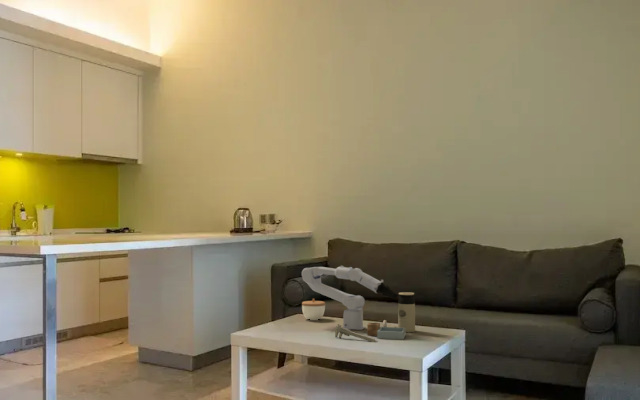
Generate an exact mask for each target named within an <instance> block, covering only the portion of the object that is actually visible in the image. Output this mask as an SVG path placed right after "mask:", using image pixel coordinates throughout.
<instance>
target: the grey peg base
mask: <svg viewBox="0 0 640 400" xmlns="http://www.w3.org/2000/svg"><path fill="white" fill-rule="evenodd" d="M382 322H383V326H382V327H388V325H387V324H388V323H387V320H385V319H384V320H383V321H382Z"/></svg>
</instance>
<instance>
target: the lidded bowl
mask: <svg viewBox="0 0 640 400" xmlns="http://www.w3.org/2000/svg"><path fill="white" fill-rule="evenodd" d="M315 299H316V298H312V300H305V301H302V302H301V310H302V315H303V316H304V318H305V319H306V320H307V319H310V320H309V321H319V320H318V319H320V320H321V319H322V318H323V316H324V314H325V311H326V310H325V309H326V301H322V300H315Z"/></svg>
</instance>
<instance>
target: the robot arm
mask: <svg viewBox="0 0 640 400" xmlns="http://www.w3.org/2000/svg"><path fill="white" fill-rule="evenodd" d="M323 275H330V276H331V275H332V276H335V277H336V278H337V279H343V280H350V281H351V282H357V283H358V284H360V285H362V286H363V287H365V288H367V289H369V290H370V291H372V292H374V293H375V294H381V296H382V297H387V298H388V297H389V298H391V299H395V300H396V299H398V298H397V297H398V296H399V294H397V293H396V292H394V291H393V290H392V288H390V286H389V285H386V284H385V283H384V282H385V281H384V279H380V280H379V279H377V278H375V277H374V276H372V275H370V274H368V273H366V272H363V270H362V269H361V268H359V267H355V268H353V267H352V266H349V267H346V266H344V265H340V266H338V267H336V268H332V267H325V266H313V267H305V268H303V269H302V270H301V278H302V281H303V282H304V283H306V284H307V285H308V287H309V288H310V289H311V290H312V291H313V292H316V293H318V294H321V295H322V296H324V297H325V296H326V297H328V298H331V299H333V300H335V301H337V302H340V303H342V305H343V306H345V307H346V308H347V309H344V310H343V316H342V317H343V319H342V320H343V321H342V322H343V323H342V325H343V326H342V328H345V329H348V330H358V331H362V330H363V329H365V325H364V316H363V315H364V308H363V307H364V306H365V304H366V300H365V298H364V297H363V296H361V295H360V294H358V295H355V294H352V293H351V294H350V293H347V292H344V291H342V290H339V289H338V288H335V287H332V286H329V285H327V284H324V283H322V276H323Z"/></svg>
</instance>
